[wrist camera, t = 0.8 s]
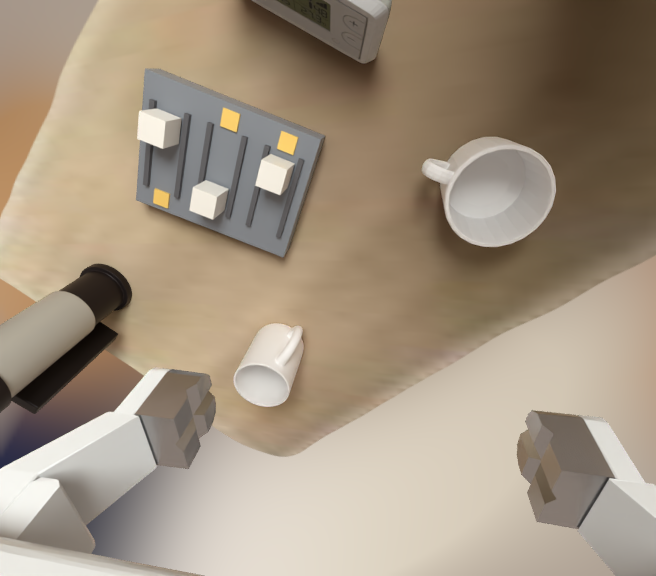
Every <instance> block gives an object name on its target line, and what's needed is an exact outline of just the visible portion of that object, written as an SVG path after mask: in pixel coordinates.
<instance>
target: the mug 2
mask: <svg viewBox="0 0 656 576" xmlns="http://www.w3.org/2000/svg"><path fill="white" fill-rule="evenodd" d="M422 173H423V174H424V175H425V176H427V177H428V178H430V179H432V180H434V181H437V182H439V183H440V189H441V195H442V200H443V205H444V210H445V215H446V219H447V221H448V223H449V225H450V227H451V229H452V230H453V231H454V232H455V233H456V234H457V235H458V236H459V237H460V238H462V239H464V240H465V241H467V242H469V243H471V244H474V245H478V246H482V247H499V246H503V245H508V244H512V243H514V242H516V241H518V240H521V239H523V238H525V237H526V236H527V235H529V234H530V233H532V232H533V231H534V230H536V229H537V227H538V226H539V225H540V224H541V223H542V222H543V221H544V220H545V218H546V217H547V215H548V213H549V211H550V209H551V207H552V206H553V202H554V198H555V194H556V182H555V176H554V173H553V171H552V168H551V165H550V164H549V163H548V162H547V161H546V159H545V158H544V157H543V156H542V155H541V154H539V153H538V152H536V151H534V150H533V149H531V148H529V147H526V146H524V145H521V144H518V143H515V142H513V141H510V140H507V139H504V138H500V137H482V138H478V139H475V140H472V141H470V142H468V143H466V144H465V145H463V146H461V147H460V148H459V149H458V150H457V151H456V152H455V153H453V154H452V155H451V157H450V158H449V160H448V161H447V162H446V161H441V160H436V159H427V160H426V161H425V162H424V164H423V166H422Z"/></svg>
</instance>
